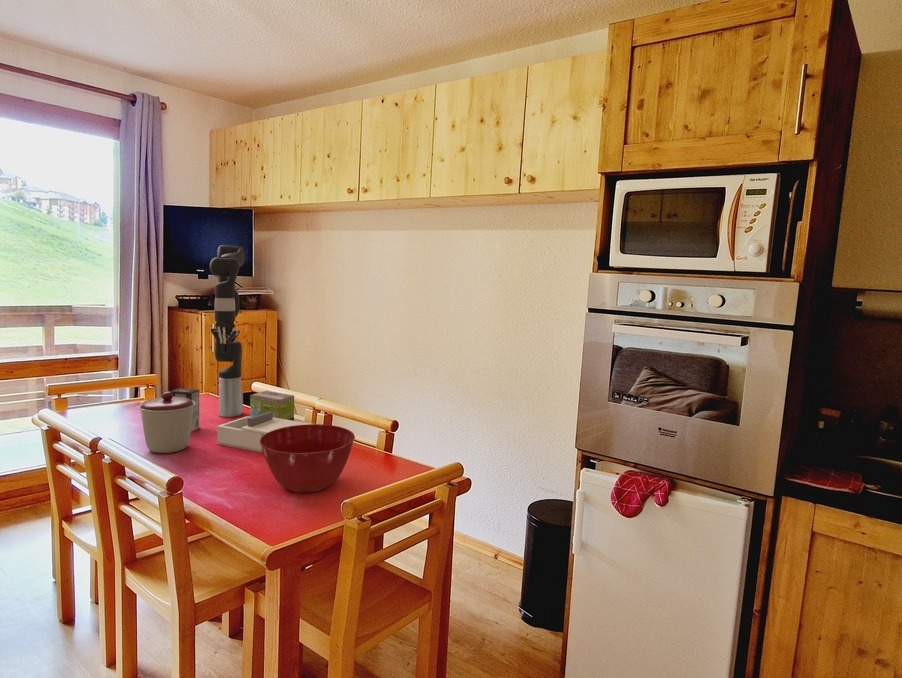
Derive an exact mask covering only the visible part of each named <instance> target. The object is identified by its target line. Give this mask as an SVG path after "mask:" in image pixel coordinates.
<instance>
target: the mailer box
mask: <svg viewBox="0 0 902 678" xmlns="http://www.w3.org/2000/svg"><path fill="white" fill-rule="evenodd" d="M248 418H251V417H250V416H249V415H248V416H244V417H243V416H242V417H241V418H237V419H235V420H234V419H233V420H231V421H228V422H226V423H222V424H219V425H217V426H216V427H217V428H216V429H217V430H216V431H217V433H216V435H217V438H216V439H217V443H216V444H217V445H219V446H225V447H231V448H234V449H241V450H246V451H250V452H255V453H256V452H257V453H263V449H262V446H261V444H260V438H261V437H262V436H263V435H265V434H262V433H256V432H251V431H245V430H241V428H242V427H244V426H247V425H248Z"/></svg>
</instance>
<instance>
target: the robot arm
mask: <svg viewBox="0 0 902 678" xmlns="http://www.w3.org/2000/svg"><path fill="white" fill-rule="evenodd" d="M216 255H217V256H216V257H215V256H214V257H213V258H211V260H210V263H209V271H210V273H211V275H213V276H215V277H217V283H215V286H214V295H215V296H214V297H215V298H214V321H215V325H214V328H211V329H210V332H211V334H212V335H213V337H214V339H215V345H214V356H215V357H214V358H215V360H216V361H217V362H222V363H223V362H225V363H232V365H230V366H229V367H226V368H222V369H221V370H219V372H218V405H219V406H218V408H219V409H218V410H219V411H218V413H219V414H218V415H219V416H220V417H224V418H232V417H238V416H241V415H242V414H244V393H243V392H242V362H243V361H242V358H243V356H242V355H243V345H242V343H241V342H240V341H238V340H236V339H237V337H238V336H239V335H240V330H237V329H236V326H235V321H236V318H237V317H238V315H239V312H240V302H241V301H240V294H239V293H238V291H237V289H236V287H235V286H236V281H237V279H238V274H239V271H240V267H242V266H243V265H244V264H245V259H246V258H245V250H244V248H243V247H241V246H238V245H225V244H221V245H219V246H218V248H217V253H216Z"/></svg>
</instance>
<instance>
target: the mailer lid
mask: <svg viewBox="0 0 902 678" xmlns="http://www.w3.org/2000/svg"><path fill="white" fill-rule="evenodd" d="M307 424H312V423H310V422H304V421H299V420H298V421H297V420H294V421H292V420H286V419H280V418H274V417H273V412H271V411H269V412H266V413H263V414H260V415H257V416H254V417H251V418H248V425H247V426H244V427H242V428H241V430H245V431H251V432H256V433H262V434H266V433H268V432H270V431H273V430H276V429H280V428H284V427H289V426H295V425H307Z"/></svg>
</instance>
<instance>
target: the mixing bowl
mask: <svg viewBox="0 0 902 678" xmlns="http://www.w3.org/2000/svg"><path fill="white" fill-rule="evenodd" d="M355 438H356V436H355V434H354V432H353V431H351V430H349V429H347V428H344V427H342V426H337V425H331V424H321V423H319V424H318V423H317V424H316V423H311V424H307V425H295V426H289V427H284V428H280V429H276V430H273V431H270V432H268V433H266V434H265V435H263V436H262V437H261V438H260V444H261V446H262V449H263V452H262V453H263V456H264V459H265V461H266V463H267V466H268V468H269V470H270V472H271V474H272V476H273V477H274V479H275V480H276V482H277V483H278V484H279V485H280V486H281V487H283V488H285V489H287V490H289V491H291V492H293V491H294V493H299V494H309V493H310V494H311V493H316V492H320V491H323V490H325V489H327V488H328V487H330V486H331V485H333V484H334V483H335V482H336V481H337V480H338V479H339V477H340V476H341V474H342V472H344V471H343V470H344V468H345V467H346V465H347V462H348V460H349V457H350V454H351V450H352V448H353V445H354V444H353V443H354V441H355Z"/></svg>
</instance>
